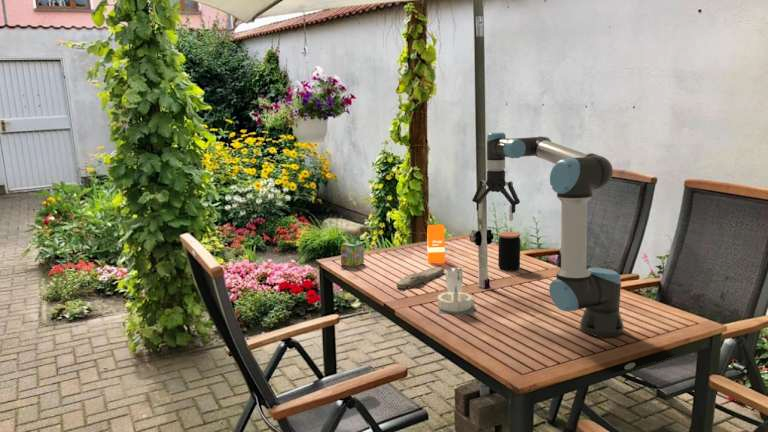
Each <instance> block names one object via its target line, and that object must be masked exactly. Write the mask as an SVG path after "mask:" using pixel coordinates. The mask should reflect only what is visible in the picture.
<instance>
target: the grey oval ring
mask: <svg viewBox="0 0 768 432" xmlns="http://www.w3.org/2000/svg"><path fill="white" fill-rule="evenodd" d="M438 311H439V312H438V314H439V315H446V314H447V315H474V313H475V299H472V307H471V309H469V310H467V311H463V312H447V311H443V310H441V309H439V310H438Z"/></svg>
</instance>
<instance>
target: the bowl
mask: <svg viewBox="0 0 768 432" xmlns="http://www.w3.org/2000/svg"><path fill="white" fill-rule="evenodd" d="M472 300H473V297H472V295H471V294H469V293H467V292H462V291H461V301H459V302H451V301H448V291H446V292H442V293H439V294H438V295H437V309H439V310H440V309H441V310H443V311H447V312H463V311H467V310H469V309H471V307H472Z"/></svg>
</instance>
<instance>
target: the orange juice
mask: <svg viewBox="0 0 768 432" xmlns="http://www.w3.org/2000/svg"><path fill="white" fill-rule="evenodd" d="M426 232H427V233H426V238H427V239H426V242H427V244H426V245H427V262H428V264H445V262H446V257H445V256H446V252H445V251H446V249H445V248H446V246H445V244H446V243H445V242H446V241H445V240H446V239H445V237H446V236H445V225H444V224H427V231H426Z"/></svg>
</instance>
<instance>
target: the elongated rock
mask: <svg viewBox="0 0 768 432" xmlns="http://www.w3.org/2000/svg"><path fill="white" fill-rule="evenodd" d="M444 273H445V269H444V267H442V266H436V267H431V268H430V267H429V268H427V269H426V270H422V271H420V272H413V273H412V274H408V275H407V276H404V277H403V278H401V279H400V280H398V281H397V282H396V288H397V289H398V288H399V289H402V290H403V289H405V290H407V289H410V288H411V287H412V288H415V287H417V286H416V285H418V286H421V285H423V284H425V283H426V281H427V282H428V281H430V280H433V279H435V278H437V277H439V275H440V276H441V275H443V274H444ZM424 282H425V283H424ZM420 284H421V285H420ZM414 286H415V287H414ZM406 288H407V289H406Z"/></svg>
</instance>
